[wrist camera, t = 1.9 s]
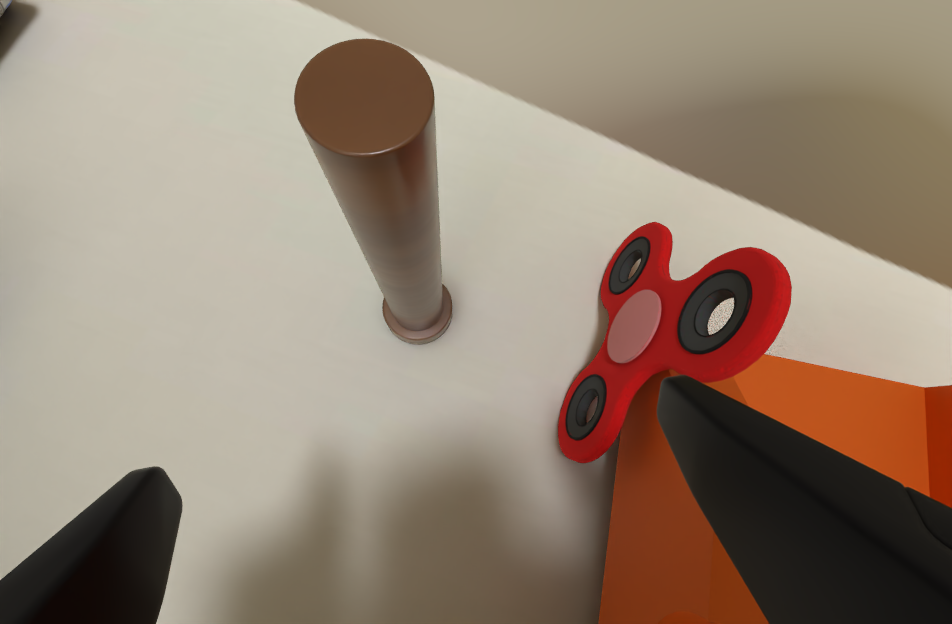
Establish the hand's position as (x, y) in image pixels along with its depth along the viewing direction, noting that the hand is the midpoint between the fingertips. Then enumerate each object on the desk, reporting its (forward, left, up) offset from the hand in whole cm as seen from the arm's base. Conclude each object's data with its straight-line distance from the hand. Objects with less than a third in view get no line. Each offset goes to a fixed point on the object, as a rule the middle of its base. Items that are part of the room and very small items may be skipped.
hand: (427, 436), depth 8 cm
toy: (+3, -8, -7) cm, 11 cm away
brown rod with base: (+5, +1, -12) cm, 13 cm away
